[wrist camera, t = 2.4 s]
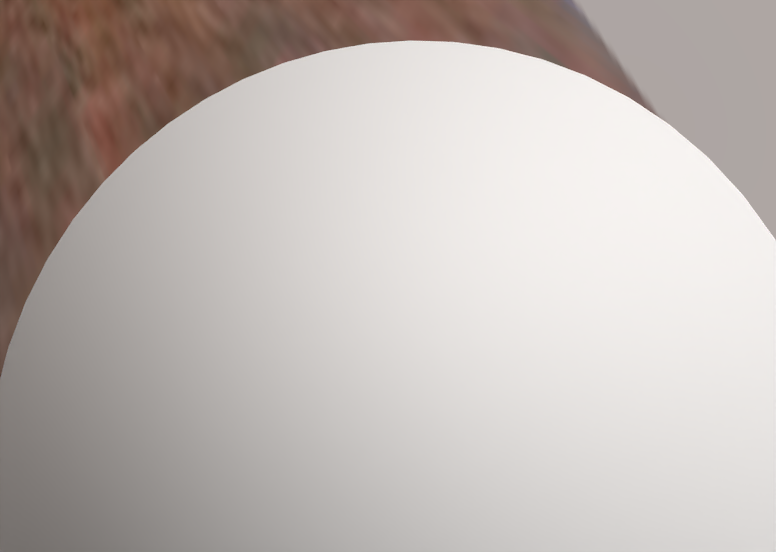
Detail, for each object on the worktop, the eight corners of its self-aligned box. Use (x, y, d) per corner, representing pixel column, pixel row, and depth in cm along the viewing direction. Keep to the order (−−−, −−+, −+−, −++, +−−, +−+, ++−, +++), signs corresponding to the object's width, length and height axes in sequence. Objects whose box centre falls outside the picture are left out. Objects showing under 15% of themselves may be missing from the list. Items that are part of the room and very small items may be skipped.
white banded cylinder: (573, 516, 15) (1154, 642, 2) (407, 600, 15) (64, 1232, 2) (484, 353, 17) (545, -79, 4) (335, 426, 17) (-87, 213, 4)
